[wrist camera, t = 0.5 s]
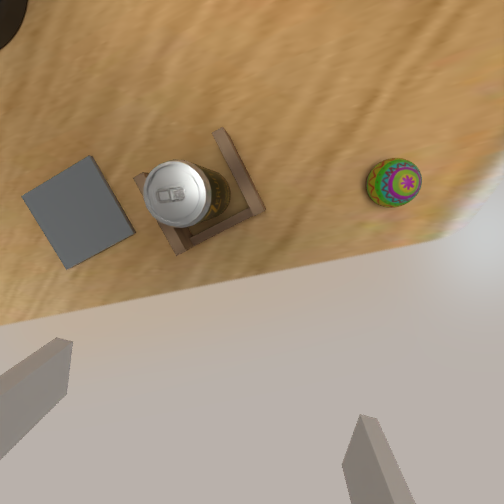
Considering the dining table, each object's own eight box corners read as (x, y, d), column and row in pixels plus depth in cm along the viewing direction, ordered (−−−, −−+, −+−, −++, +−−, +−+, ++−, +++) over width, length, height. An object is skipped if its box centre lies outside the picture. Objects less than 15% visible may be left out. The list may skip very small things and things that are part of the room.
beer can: (188, 219, 36) (146, 232, 24) (182, 173, 35) (134, 162, 23) (233, 215, 35) (213, 225, 24) (228, 167, 34) (203, 153, 23)
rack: (150, 179, 35) (132, 177, 31) (229, 135, 34) (222, 126, 29) (188, 248, 36) (176, 255, 32) (266, 208, 35) (264, 210, 30)
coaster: (25, 196, 37) (21, 196, 36) (92, 156, 35) (89, 155, 35) (69, 268, 38) (66, 269, 37) (136, 232, 37) (133, 233, 36)
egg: (414, 167, 33) (444, 161, 27) (398, 211, 34) (424, 215, 28) (370, 155, 33) (390, 147, 27) (355, 200, 34) (372, 201, 28)
